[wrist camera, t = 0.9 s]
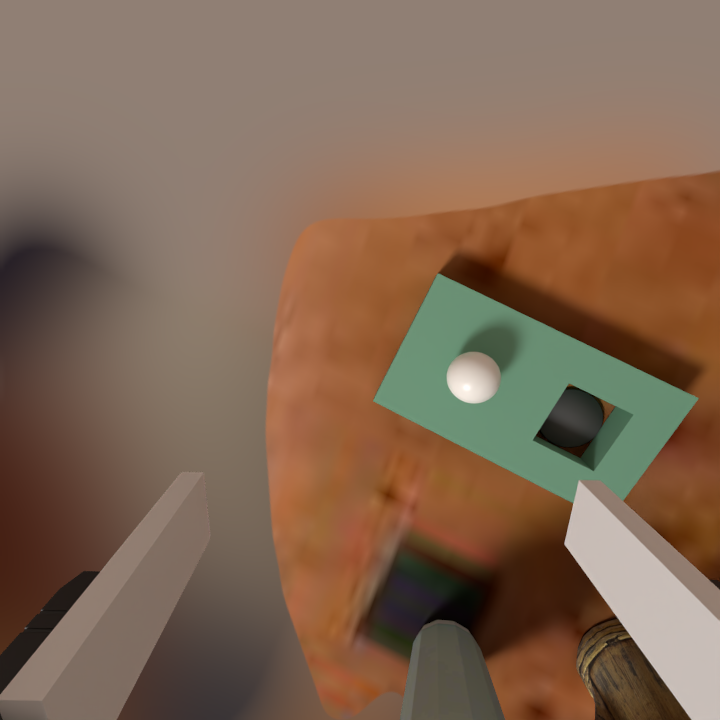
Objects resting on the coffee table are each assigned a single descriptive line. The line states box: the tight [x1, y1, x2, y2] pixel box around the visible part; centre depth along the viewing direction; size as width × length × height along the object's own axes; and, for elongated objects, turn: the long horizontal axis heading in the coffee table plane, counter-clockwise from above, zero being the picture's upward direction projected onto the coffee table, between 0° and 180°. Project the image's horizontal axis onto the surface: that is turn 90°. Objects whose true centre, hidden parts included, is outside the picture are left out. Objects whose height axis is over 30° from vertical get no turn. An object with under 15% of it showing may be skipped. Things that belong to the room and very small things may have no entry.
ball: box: [447, 352, 501, 404], centre depth 28 cm, size 4×4×4 cm
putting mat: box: [373, 273, 699, 503], centre depth 31 cm, size 22×12×2 cm, turn 65°
